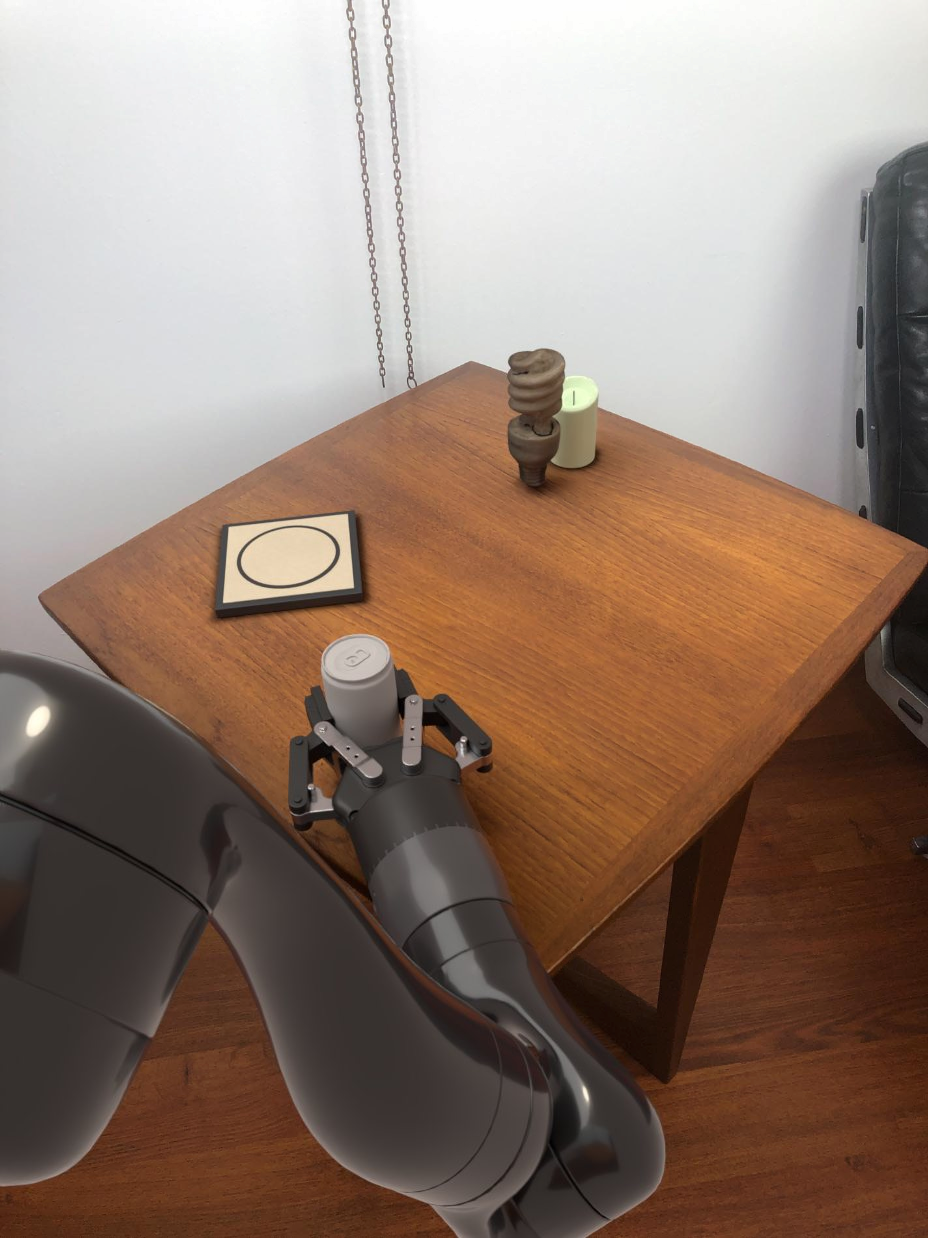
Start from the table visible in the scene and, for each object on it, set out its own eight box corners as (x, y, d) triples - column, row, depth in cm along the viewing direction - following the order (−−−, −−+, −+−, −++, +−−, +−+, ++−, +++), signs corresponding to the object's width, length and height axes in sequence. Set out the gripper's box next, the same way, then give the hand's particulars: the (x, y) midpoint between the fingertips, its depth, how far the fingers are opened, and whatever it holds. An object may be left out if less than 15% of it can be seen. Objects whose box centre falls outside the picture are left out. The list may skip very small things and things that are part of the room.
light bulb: (572, 484, 99) (578, 348, 89) (539, 508, 96) (542, 370, 86) (529, 466, 102) (530, 332, 92) (496, 489, 99) (493, 353, 89)
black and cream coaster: (217, 618, 85) (214, 608, 84) (224, 532, 95) (221, 522, 94) (363, 601, 86) (362, 590, 85) (355, 518, 96) (354, 508, 95)
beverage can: (328, 779, 71) (304, 659, 63) (375, 742, 74) (357, 622, 66) (373, 813, 68) (353, 692, 61) (420, 773, 71) (407, 653, 63)
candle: (585, 472, 100) (589, 402, 95) (540, 463, 102) (542, 393, 97) (601, 449, 104) (605, 379, 98) (557, 440, 106) (559, 371, 100)
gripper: (545, 796, 56) (444, 618, 68) (303, 877, 52) (243, 674, 64) (543, 871, 61) (449, 692, 73) (322, 950, 57) (263, 748, 69)
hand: (353, 684), depth 68 cm, fingers closed on beverage can, 4 cm apart
